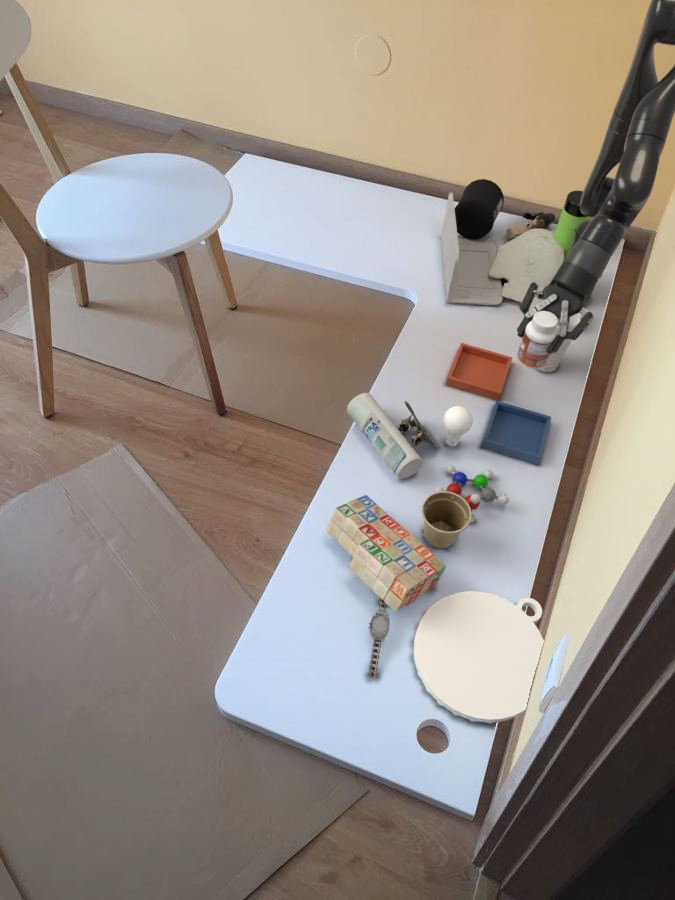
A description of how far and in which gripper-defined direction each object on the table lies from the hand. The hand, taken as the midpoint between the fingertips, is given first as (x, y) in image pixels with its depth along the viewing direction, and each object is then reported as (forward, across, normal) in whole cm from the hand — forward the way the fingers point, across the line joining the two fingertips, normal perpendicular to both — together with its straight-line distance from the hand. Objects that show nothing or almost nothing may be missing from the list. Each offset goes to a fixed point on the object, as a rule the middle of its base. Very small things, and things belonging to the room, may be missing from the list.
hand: (534, 344), depth 146 cm
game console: (-10, -36, +45) cm, 58 cm away
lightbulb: (+27, -6, +8) cm, 28 cm away
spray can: (+34, -7, -4) cm, 35 cm away
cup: (+1, -3, +33) cm, 34 cm away
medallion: (+49, +26, -19) cm, 59 cm away
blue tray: (+18, +3, +16) cm, 25 cm away
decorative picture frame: (+25, -8, -2) cm, 27 cm away
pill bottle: (+3, 0, +5) cm, 6 cm away
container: (-21, -44, +46) cm, 67 cm away
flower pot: (+41, +6, -7) cm, 42 cm away
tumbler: (-28, -22, +62) cm, 72 cm away
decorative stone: (-9, -10, +44) cm, 46 cm away
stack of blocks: (+45, +2, -14) cm, 47 cm away
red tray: (+11, -13, +23) cm, 29 cm away
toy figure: (-27, -36, +55) cm, 71 cm away
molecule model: (+29, 0, +5) cm, 29 cm away
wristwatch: (+59, +10, -25) cm, 65 cm away
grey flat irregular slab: (-9, -20, +41) cm, 46 cm away
